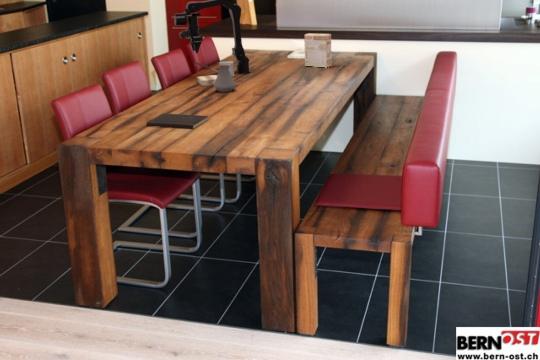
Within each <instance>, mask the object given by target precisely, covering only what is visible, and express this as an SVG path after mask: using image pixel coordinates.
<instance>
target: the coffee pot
mask: <svg viewBox="0 0 540 360" xmlns="http://www.w3.org/2000/svg"><path fill="white" fill-rule="evenodd" d="M197 65H198V66H201V67H202V68H204V69H206V70H207V69H208V70H210V71H213V72H215V73H217V74H216V75H217V78H216V81H215V84H214V85H213V87H214V89H215V90H216V91H218V92H220V93H227V92H228V93H229V92H231V91H233V90H234V89H235V87H236V86H237V85H236V82H235V79H234V77H232V76H231V74H230V72H229V67H230V66H227V65H223V66H219V65H218V66H217V68H218V70H217V69H213V68H212V67H209V66H207V65H205V64H201V63H199V62H195V65H194V66H197Z"/></svg>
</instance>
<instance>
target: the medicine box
mask: <svg viewBox="0 0 540 360" xmlns="http://www.w3.org/2000/svg"><path fill="white" fill-rule="evenodd" d="M234 64H235V63H234V61H232V60H231V61H220V62H218V66H223V65H227V66H230V67H229V72H230V74H231V76H232V78H234V77H235V65H234Z"/></svg>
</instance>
